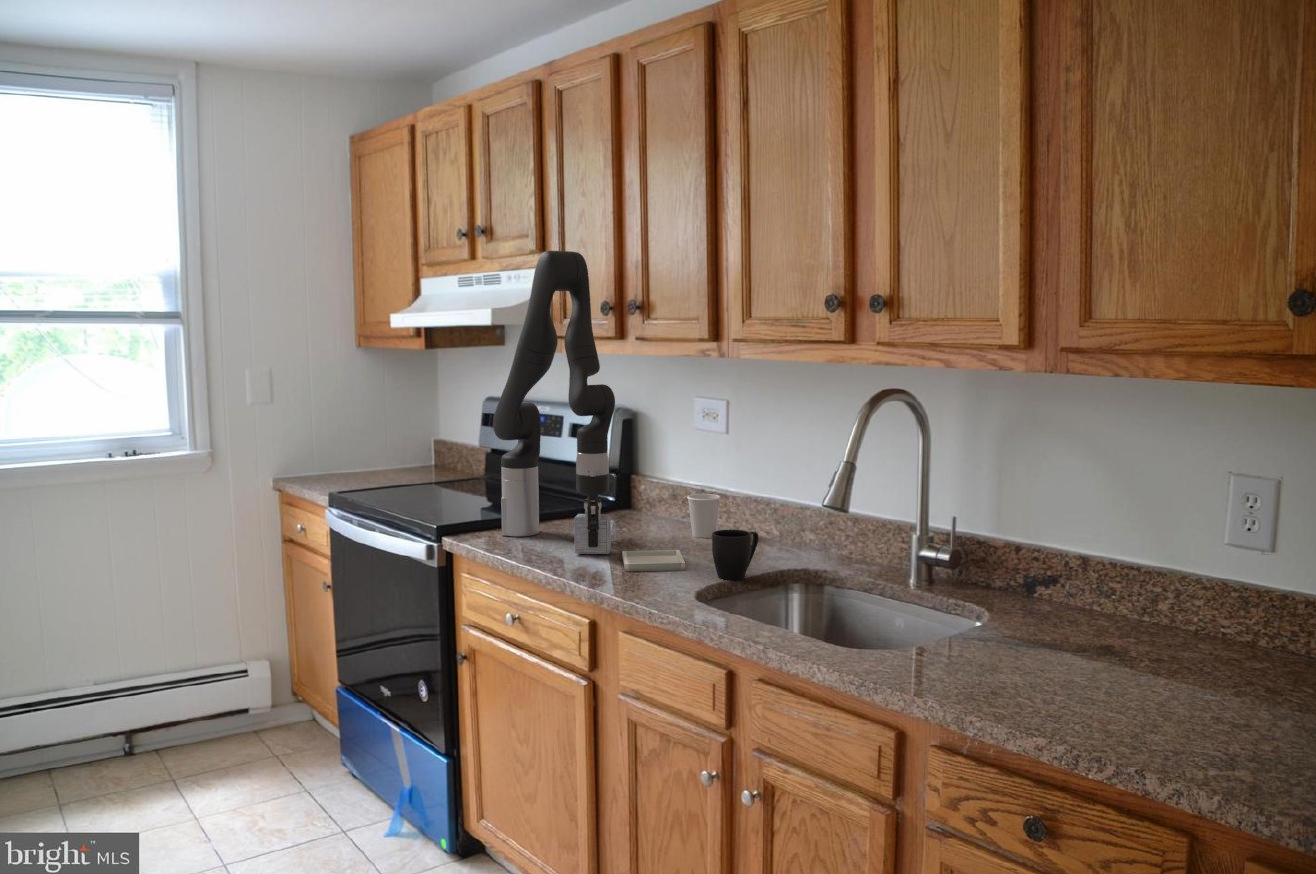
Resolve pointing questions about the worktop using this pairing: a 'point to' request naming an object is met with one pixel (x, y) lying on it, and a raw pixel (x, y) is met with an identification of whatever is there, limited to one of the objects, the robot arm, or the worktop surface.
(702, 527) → the dixie cup
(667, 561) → the tray
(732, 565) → the mug
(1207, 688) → the worktop surface
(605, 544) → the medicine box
